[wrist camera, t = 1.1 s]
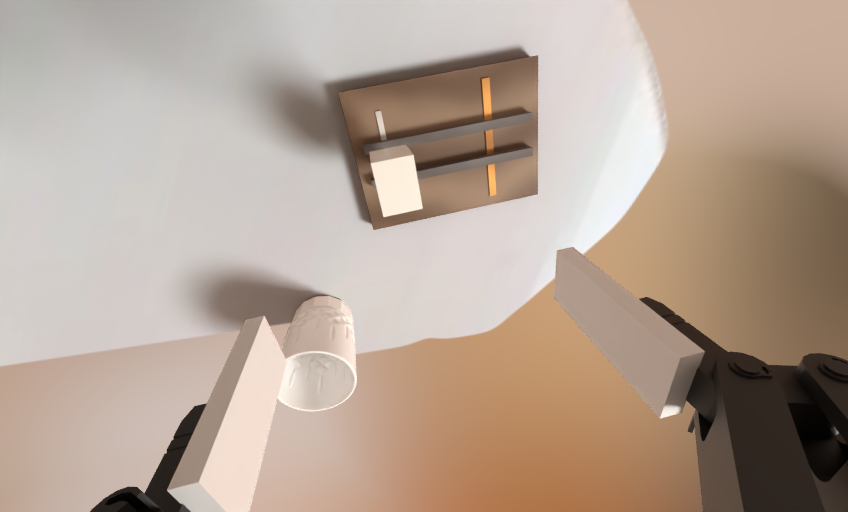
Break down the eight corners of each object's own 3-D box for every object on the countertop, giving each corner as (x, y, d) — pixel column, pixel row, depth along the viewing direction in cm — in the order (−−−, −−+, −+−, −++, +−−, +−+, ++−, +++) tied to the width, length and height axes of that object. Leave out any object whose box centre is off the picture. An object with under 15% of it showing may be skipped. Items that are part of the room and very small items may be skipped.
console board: (339, 92, 30) (337, 92, 27) (530, 56, 31) (543, 54, 29) (373, 224, 36) (373, 233, 34) (531, 190, 37) (542, 196, 35)
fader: (368, 144, 30) (370, 163, 23) (400, 137, 30) (413, 154, 23) (378, 186, 32) (383, 217, 25) (408, 180, 32) (422, 208, 25)
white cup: (293, 345, 41) (275, 415, 32) (286, 291, 38) (263, 354, 29) (358, 341, 43) (357, 407, 34) (356, 289, 39) (355, 348, 30)
